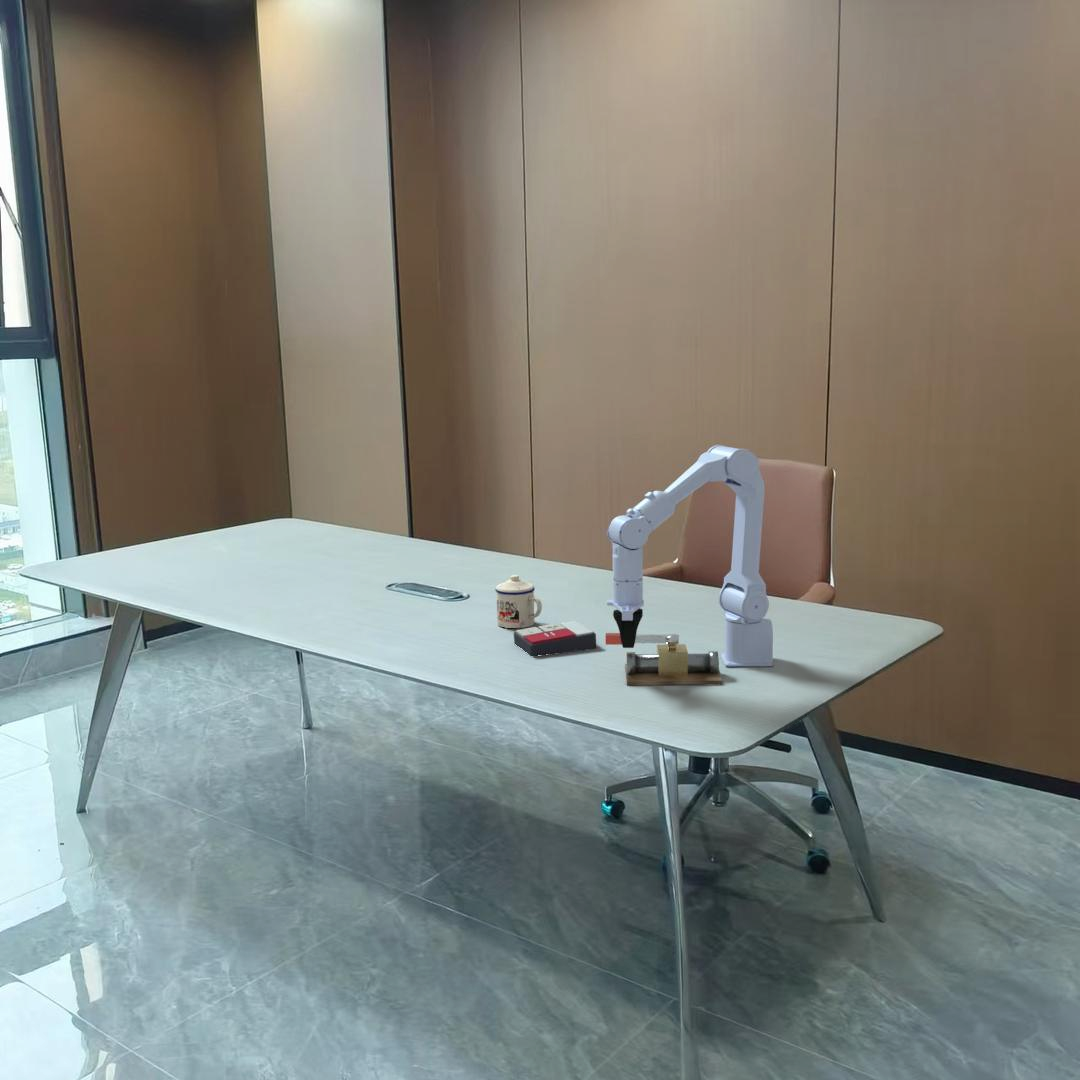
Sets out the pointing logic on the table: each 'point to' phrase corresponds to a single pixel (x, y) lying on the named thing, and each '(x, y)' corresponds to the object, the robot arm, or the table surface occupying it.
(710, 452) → the robot arm
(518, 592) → the teacup with lid
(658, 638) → the lever
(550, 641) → the calculator
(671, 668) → the valve
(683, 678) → the board
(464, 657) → the table surface
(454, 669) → the table surface
